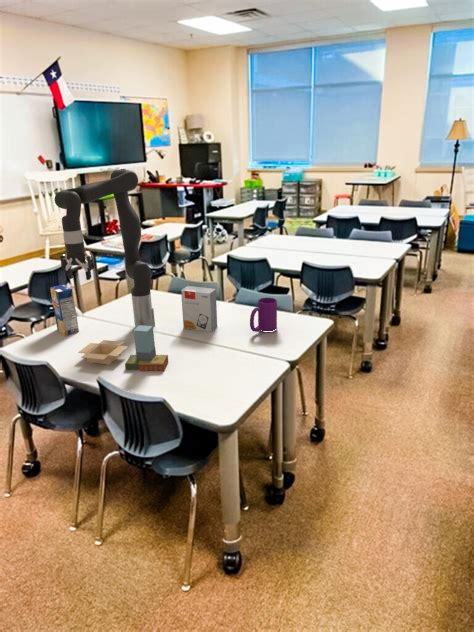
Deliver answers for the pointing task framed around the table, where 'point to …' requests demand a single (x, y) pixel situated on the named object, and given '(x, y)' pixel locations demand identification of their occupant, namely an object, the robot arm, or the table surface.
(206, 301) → the hard drive box
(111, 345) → the kraft carton
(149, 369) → the carton
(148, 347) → the slate box
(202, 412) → the table surface
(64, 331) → the beverage box
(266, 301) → the mug
